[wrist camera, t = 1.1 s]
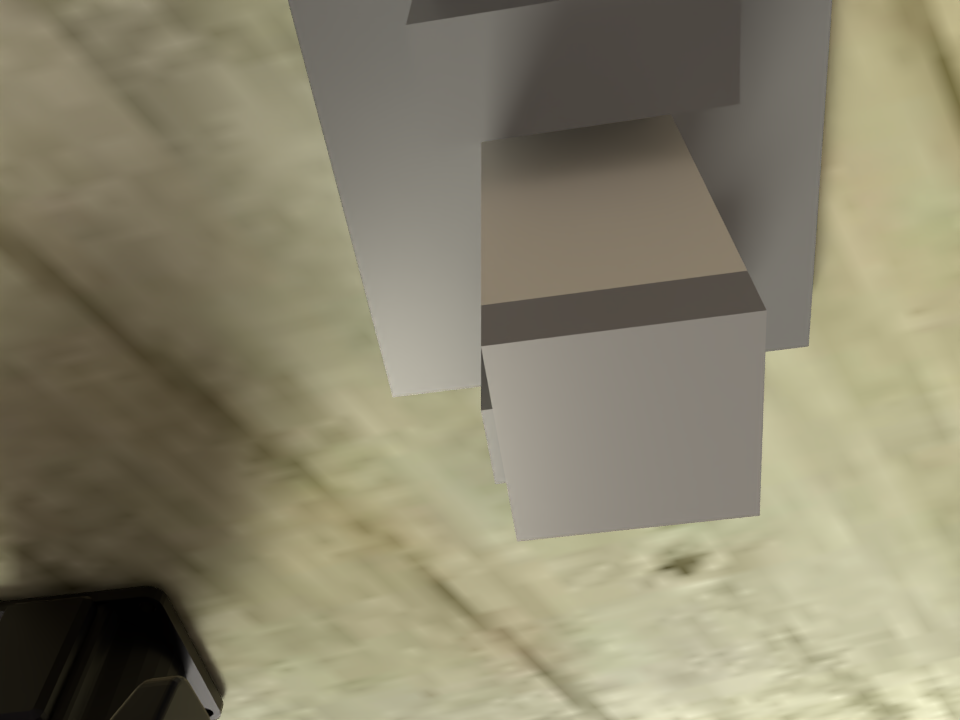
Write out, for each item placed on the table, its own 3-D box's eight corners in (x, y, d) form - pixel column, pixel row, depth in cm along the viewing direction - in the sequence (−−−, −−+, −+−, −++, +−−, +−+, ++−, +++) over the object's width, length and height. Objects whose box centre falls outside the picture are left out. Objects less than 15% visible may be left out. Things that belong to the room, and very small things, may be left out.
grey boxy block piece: (667, 255, 20) (758, 515, 13) (505, 276, 20) (517, 540, 14) (661, 94, 18) (766, 310, 11) (481, 122, 18) (480, 345, 12)
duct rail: (794, 319, 22) (864, 453, 18) (396, 368, 23) (378, 506, 19) (851, -701, 12) (1030, -911, 8) (162, -549, 13) (21, -670, 9)
